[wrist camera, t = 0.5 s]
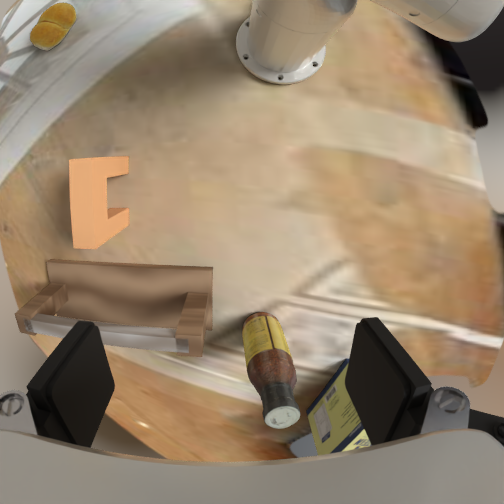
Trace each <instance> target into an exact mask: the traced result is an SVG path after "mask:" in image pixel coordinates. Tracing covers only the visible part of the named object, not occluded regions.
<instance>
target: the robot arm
mask: <svg viewBox="0 0 504 504" xmlns="http://www.w3.org/2000/svg"><path fill="white" fill-rule="evenodd" d="M371 1H373V2H375V3H377V4H379V5H381V6H383V7H385V8H387V9H389V10H391V11H392V12H394V13H396V14H398V15H400V16H402V17H403V18H405V19H407V20H409V21H410V22H412V23H414V24H416V25H417V26H419V27H421V28H422V29H424V30H426V31H428V32H429V33H431V34H433V35H435V36H437V37H439V38H441V39H444V40H447V41H451V42H462V41H467V40H470V39H472V38H474V37H476V36H478V35H479V34H481V33H482V32H483V31H484V30H485V29H486V28H487V27H488V26H489V25H490V24H491V23H492V22H493V21H494V19H495V18H496V17H497V15H498V14H499V13H500V11H501V9H502V8H503V6H504V0H371ZM356 5H357V0H253V1H252V8H251V16H250V17H249V18H247V19H246V20H245V21H244V22H243V24H242V25H241V26H240V28H239V30H238V33H237V37H236V50H237V54H238V57H239V59H240V61H241V62H242V64H243V65H244V67H245V68H246V69H247V70H248V71H249V72H250V73H252V74H253V75H255V76H256V77H258V78H260V79H262V80H264V81H267V82H270V83H274V84H294V83H299V82H301V81H304V80H306V79H308V78H309V77H311V76H312V75H313V74H314V73H316V72H317V71H318V69H319V68H320V67H321V65H322V63H323V61H324V58H325V54H326V45H325V44H326V43H327V42H328V41H329V40H330V39H331V38H332V37H333V36H334V34H335V33H336V32H337V31H338V30H339V29H340V28H341V27H342V26H343V24H344V23H345V22H346V21H347V20H348V19H349V18H350V17H351V15H352V14H353V12H354V10H355V7H356ZM248 25H249V27H247V26H248ZM244 58H248V59H247V60H245V59H244ZM313 65H315V67H314V66H313ZM278 78H281V80H278ZM345 387H346V390H347V392H348V394H349V396H350V399H351V401H352V403H353V405H354V407H355V409H356V412H357V414H358V416H359V418H360V420H361V423H362V425H363V427H364V429H365V431H366V434H367V436H368V438H369V440H370V443H371V445H372V446H368V447H363V448H358V449H353V450H348V451H343V452H337V453H331V454H325V455H318V456H311V457H302V458H293V459H283V460H270V461H252V462H198V461H180V460H168V459H157V458H147V457H140V456H133V455H126V454H120V453H114V452H108V451H103V450H98V449H93V448H91V445H92V442H93V440H94V437H95V435H96V432H97V430H98V427H99V425H100V423H101V420H102V418H103V415H104V413H105V410H106V408H107V406H108V403H109V401H110V399H111V396H112V394H113V392H114V388H115V384H114V380H113V376H112V373H111V370H110V367H109V363H108V360H107V357H106V353H105V349H104V346H103V342H102V338H101V334H100V330H99V328H98V326H95V324H94V323H93V322H90V321H78V322H77V323H76V324H75V325H74V326H73V327H72V329H71V330H70V331H69V332H68V333H67V335H66V336H65V337H64V338H63V340H62V341H61V342H60V343H59V345H58V346H57V347H56V348H55V350H54V351H53V352H52V353H51V355H50V356H49V357H48V359H47V360H46V361H45V363H44V364H43V365H42V366H41V368H40V369H39V370H38V372H37V373H36V374H35V376H34V377H33V378H32V380H31V381H30V383H29V384H28V385H27V389H28V393H27V394H26V395H25V394H24V393H23V392H21V391H17V390H11V391H7V392H5V393H3V394H1V395H0V504H504V418H503V417H499V416H495V415H491V414H487V413H483V412H479V411H476V410H472V409H470V401H469V399H468V397H467V396H466V395H465V393H464V392H462V391H460V390H459V389H456V388H453V387H440V388H438V389H436V390H435V391H434V389H433V388H432V387H431V382H430V381H429V379H428V378H427V377H426V376H425V374H424V373H423V372H422V371H421V369H420V368H419V367H418V366H417V364H416V363H415V362H414V361H413V359H412V358H411V357H410V356H409V354H408V353H407V352H406V351H405V350H404V348H403V347H402V346H401V345H400V343H399V342H398V341H397V340H396V339H395V337H394V336H393V335H392V334H391V333H390V331H389V330H388V329H387V328H386V327H385V325H384V324H383V323H382V322H381V321H380V320H379V318H377V317H374V318H364V319H362V320H361V322H360V323H357V325H356V328H355V334H354V339H353V344H352V349H351V354H350V359H349V363H348V368H347V372H346V377H345Z"/></svg>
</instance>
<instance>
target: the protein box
mask: <svg viewBox="0 0 504 504" xmlns="http://www.w3.org/2000/svg"><path fill="white" fill-rule="evenodd" d="M348 363H349V359H347V358H346V359H345V361H344V362H343V364H342V365H341V367H340V368H339V369H338V371H337V372H336V373H335V375H334V376H333V377H332V379H331V380H330V382H329V383H328V384H327V385H326V387H325V388H324V389H323V391H322V392H321V393H320V395H319V396H318V397H317V398H316V400H315V401H314V402H313V403H312V405H311V406H310V407H309V408H308V410H307V411H306V412H307V416H308V420H309V423H310V427H311V431H312V434H313V438H314V442H315V445H316V449H317V452H318V455H325V454H331V453H337V452H343V451H348V450H353V449H358V448H363V447H368V446H372V445H371V443H370V440H369V438H368V436H367V434H366V431H365V429H364V427H363V425H362V423H361V420H360V418H359V416H358V414H357V412H356V409H355V407H354V405H353V403H352V401H351V399H350V396H349V394H348V392H347V390H346V387H345V377H346V372H347V368H348Z"/></svg>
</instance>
